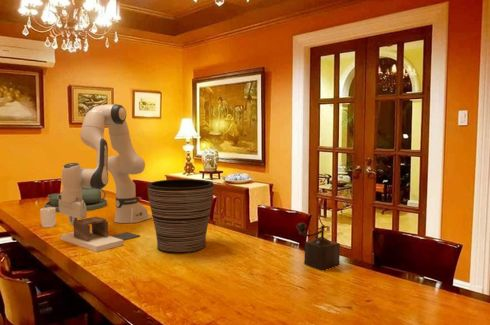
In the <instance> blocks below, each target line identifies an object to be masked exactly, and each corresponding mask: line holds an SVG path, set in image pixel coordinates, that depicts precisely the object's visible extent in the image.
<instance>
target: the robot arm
mask: <svg viewBox="0 0 490 325" xmlns="http://www.w3.org/2000/svg"><path fill="white" fill-rule="evenodd" d="M126 110H127V109H126V108H125V107H124V106H123V105H122V104H117V103H116V104H115V103H114V104H112V103H111V104H100V105H92V106H90V107H89V108H88V110H87V112H86V114H85V116H84V119H83V121H82V125H81V127H80V128H81V129H80V134H79V135H80V140H81V141H82V143H83V144H85V145H86V146H87V147H89V148H91V149H93V150H95V151H96V167H95V168H84V167H82V166H81V165H80V163H78V162H68V163H66V164H64V165H63V167H62V171H61V184H62V189H61V192H62V194H60V193H59V194H60V195H58V199H59V211H60V212H59V213H60V214H61V215H65V216H67V218H68V220H69V225H71V226H73V227H74V223H73V222H75V220H81V219H86V218H87V215H88V214H87V212H88V211H86V205H85V203H84V202H83V199H82V188H93V189H103V188H105V187H106V186H107V184H108V182H109V173H110V174H111V176H112V178H113V180H114V184H115V196H116V197H115V216H114V220H113V222H114V223H119V224H120V223H121V224H131V223H132V224H136V223H139V222H144V221H147V220H150V219H153V216H152V215H150V214H149V213H148V211H149V210H148V208H146V206H144V205H143V204H142V203H140V202H139V201H141V200H142V199H143V198H142V197H141V196H136V194H137V193H136V192H137V191H136V183H135V182H134V181H133V180H132V179H131V177H130V175H139V174H141V173H143V172H144V170H145V168H146V162H145V160H144V158H143V157H141V156H140V155H139V153H137V152H136V150H135V147H134V146H133V143H132V140H131V135H130V131H129V125H128V123H127V120H126V118H127V111H126ZM106 126H107V128H108V134H109V140H110V141H109V142H110V145H111V149H113V150H114V151H115V152H116V153H118V154H116V155H111V156H109V157H108V154H109V153H108V152H109V147H108V145H109V144H108V141H107V140H106V139H105V138H104V135H105V134H104V133H105V127H106ZM108 172H109V173H108Z"/></svg>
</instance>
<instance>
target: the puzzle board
mask: <svg viewBox="0 0 490 325" xmlns="http://www.w3.org/2000/svg"><path fill="white" fill-rule="evenodd" d="M60 239H61V241H65V242H67V243H70V244H72V245H76V246H78V247H81V248H83V249H87V250H89V251H92V252H95V253H98V252H103V251H106V250H107V251H108V250H110V249H114V248H117V247H118V248H119V247H121V246H124V241H123V240H122V239H118V238H115V237H112V235H108V236H107V237H104V236H101V235H97V234H94V233H92V229H90V241H85V240H82V239H79V238H76V237H74V231H72V232H67V233H62V234H60Z"/></svg>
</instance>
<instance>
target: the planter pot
mask: <svg viewBox="0 0 490 325" xmlns="http://www.w3.org/2000/svg"><path fill="white" fill-rule="evenodd" d="M214 188H215V183H214V182H213V181H210V180H206V179H204V180H203V179H196V178H195V179H193V178H192V179H190V178H189V179H187V178H186V179H185V178H183V179H181V178H180V179H179V178H177V179H176V178H175V179H162V180H161V179H160V180H156V181H152V182H149V183H147V194H148V200H149V201H148V202H149V206H150V211H151V216H152V220H153V225H154V230H155V237H156V244H157V246H156V247H157V250H158V251H159V252H162V253H165V254H171V255H187V254H192V253H193V254H194V253H197V252H200V251H202V250H204V249H205V248H206V247H207V246H206V245H207V244H206V242H207V240H206V239H207V231H208V225H209V220H210V215H211V210H212V204H213V198H214V191H215V190H214Z"/></svg>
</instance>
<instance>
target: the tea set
mask: <svg viewBox="0 0 490 325" xmlns="http://www.w3.org/2000/svg"><path fill="white" fill-rule="evenodd" d="M102 192H103V197H102ZM60 194H62V191H61V192H59V193H51V194H48V195H47V198H48V200H49V201H46V203H44V208H47V207H54V208H56V213H60V211H59V199H58V195H60ZM106 196H107V193H106V191H105V189H103V188H102V189H93V188H82V199H83V202H84V203H85V205H86V211H87V212H88V211H94V210H97V209H98V210H99V209H102V208H104V207H105V206H107V204H108V201H107V199H106Z"/></svg>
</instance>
